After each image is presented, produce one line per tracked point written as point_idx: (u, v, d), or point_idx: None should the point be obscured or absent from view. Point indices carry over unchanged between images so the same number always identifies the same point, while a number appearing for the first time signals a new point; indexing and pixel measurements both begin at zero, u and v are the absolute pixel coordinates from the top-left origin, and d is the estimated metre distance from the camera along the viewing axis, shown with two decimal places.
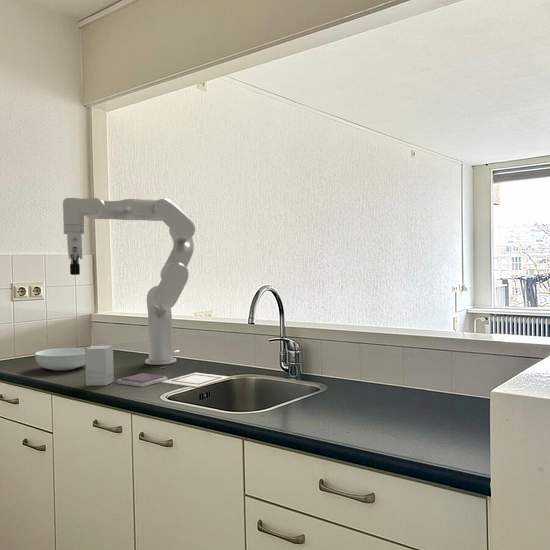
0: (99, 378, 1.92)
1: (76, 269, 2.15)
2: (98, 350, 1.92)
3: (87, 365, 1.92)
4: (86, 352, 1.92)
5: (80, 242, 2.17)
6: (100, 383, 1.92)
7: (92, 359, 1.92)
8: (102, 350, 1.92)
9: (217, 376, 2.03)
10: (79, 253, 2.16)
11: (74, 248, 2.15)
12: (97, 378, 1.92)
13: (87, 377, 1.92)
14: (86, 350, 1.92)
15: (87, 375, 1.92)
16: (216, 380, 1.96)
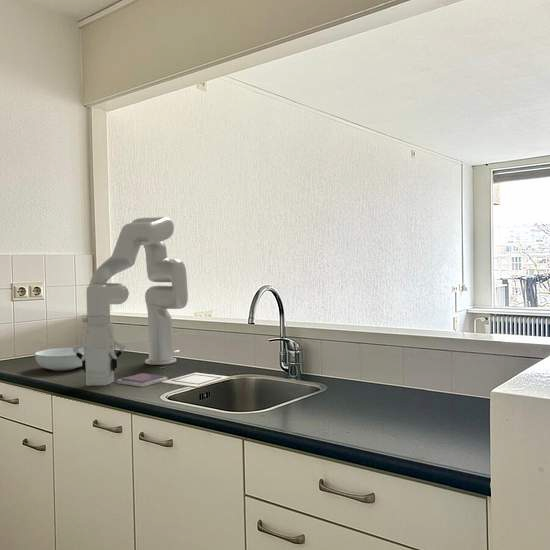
0: (99, 378, 1.92)
1: (82, 366, 1.94)
2: (98, 350, 1.92)
3: (87, 365, 1.92)
4: None
5: (84, 336, 1.92)
6: (100, 383, 1.92)
7: (92, 360, 1.92)
8: (102, 350, 1.92)
9: (217, 376, 2.03)
10: (83, 348, 1.93)
11: None
12: (97, 378, 1.92)
13: (87, 377, 1.92)
14: None
15: (87, 375, 1.92)
16: (216, 380, 1.96)
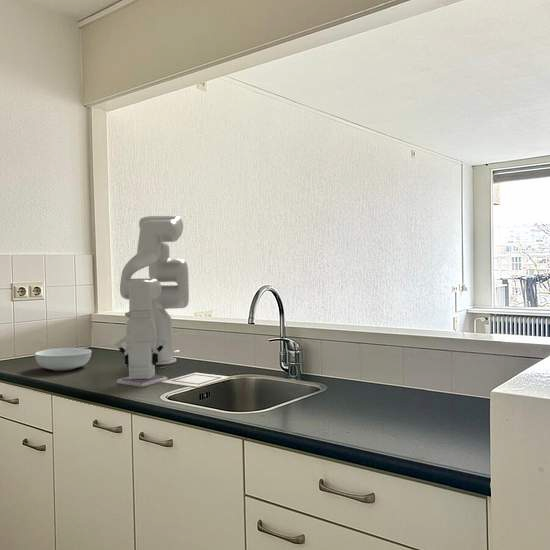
0: (143, 372, 1.94)
1: (125, 360, 1.95)
2: (141, 344, 1.93)
3: (130, 359, 1.94)
4: None
5: (126, 330, 1.94)
6: (143, 376, 1.94)
7: (135, 353, 1.94)
8: (145, 344, 1.93)
9: (217, 376, 2.03)
10: None
11: (124, 337, 1.96)
12: (140, 371, 1.94)
13: (130, 371, 1.94)
14: None
15: (130, 369, 1.94)
16: (216, 380, 1.96)
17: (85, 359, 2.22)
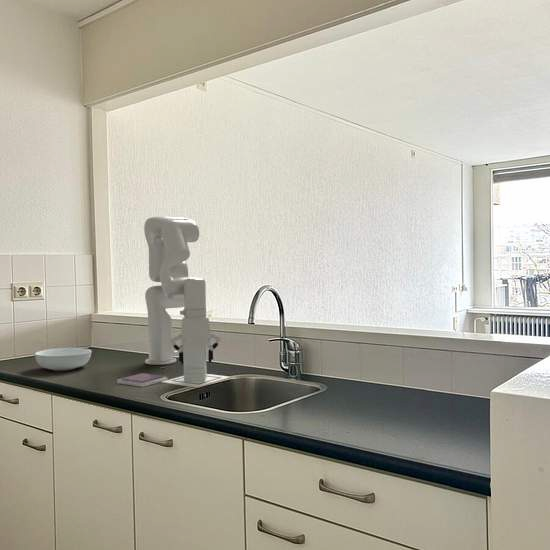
0: (198, 374, 1.95)
1: (179, 358, 1.97)
2: (196, 346, 1.95)
3: (185, 361, 1.95)
4: (184, 348, 1.95)
5: (182, 328, 1.95)
6: (198, 378, 1.95)
7: (190, 355, 1.95)
8: (200, 346, 1.95)
9: (217, 376, 2.03)
10: (181, 341, 1.96)
11: None
12: (195, 373, 1.95)
13: (185, 373, 1.95)
14: (184, 346, 1.95)
15: (185, 371, 1.95)
16: (216, 380, 1.96)
17: (85, 359, 2.22)
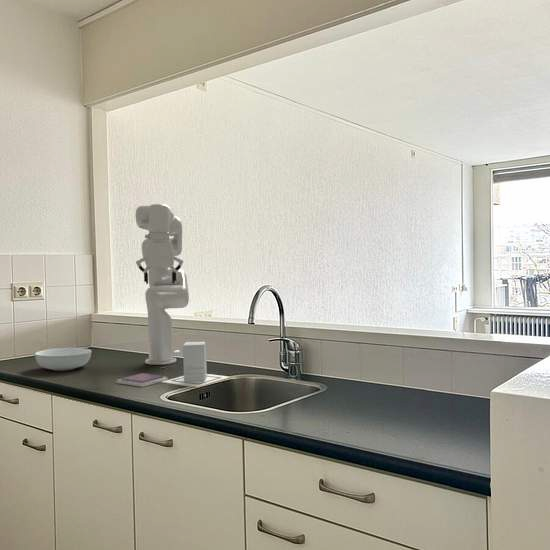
0: (198, 374, 1.95)
1: (144, 278, 2.12)
2: (196, 346, 1.95)
3: (185, 361, 1.95)
4: (184, 348, 1.95)
5: (146, 250, 2.10)
6: (198, 378, 1.95)
7: (190, 355, 1.95)
8: (200, 346, 1.95)
9: (217, 376, 2.03)
10: (145, 262, 2.10)
11: (144, 257, 2.12)
12: (195, 373, 1.95)
13: (185, 373, 1.95)
14: (184, 346, 1.95)
15: (185, 371, 1.95)
16: (216, 380, 1.96)
17: (85, 359, 2.22)
